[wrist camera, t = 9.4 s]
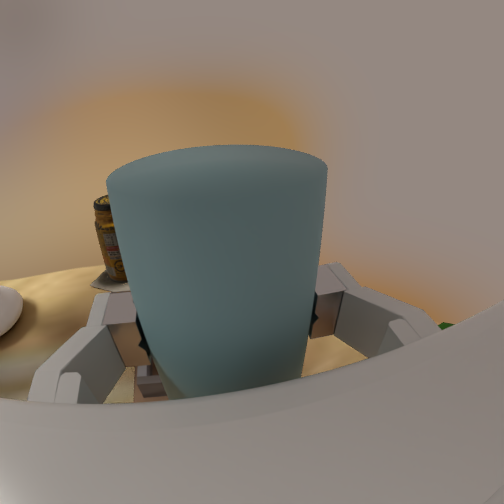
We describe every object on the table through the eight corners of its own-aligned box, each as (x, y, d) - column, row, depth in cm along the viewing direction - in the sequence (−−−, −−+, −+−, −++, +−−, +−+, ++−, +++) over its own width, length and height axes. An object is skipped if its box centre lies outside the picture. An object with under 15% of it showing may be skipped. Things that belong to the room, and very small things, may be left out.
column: (270, 474, 9) (297, 216, 4) (156, 428, 10) (63, 190, 5) (306, 380, 13) (339, 153, 8) (209, 352, 14) (185, 143, 9)
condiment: (155, 263, 45) (143, 189, 39) (128, 295, 38) (107, 213, 32) (119, 258, 46) (104, 190, 40) (90, 287, 39) (68, 212, 33)
